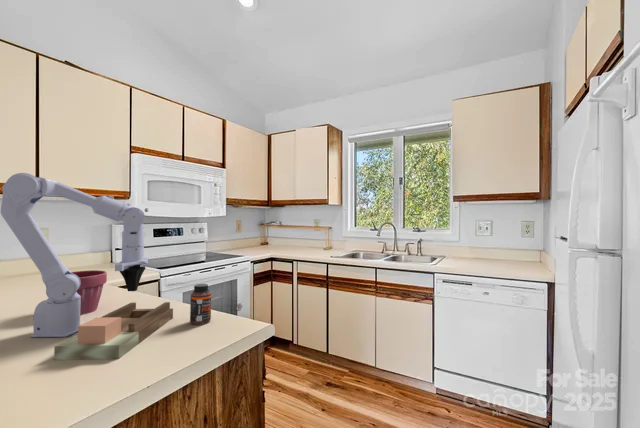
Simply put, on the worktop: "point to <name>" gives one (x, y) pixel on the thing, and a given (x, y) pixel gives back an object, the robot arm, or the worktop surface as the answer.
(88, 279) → the plant pot
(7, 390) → the worktop surface
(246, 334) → the worktop surface
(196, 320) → the supplement bottle
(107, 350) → the chute
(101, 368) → the worktop surface
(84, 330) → the block
